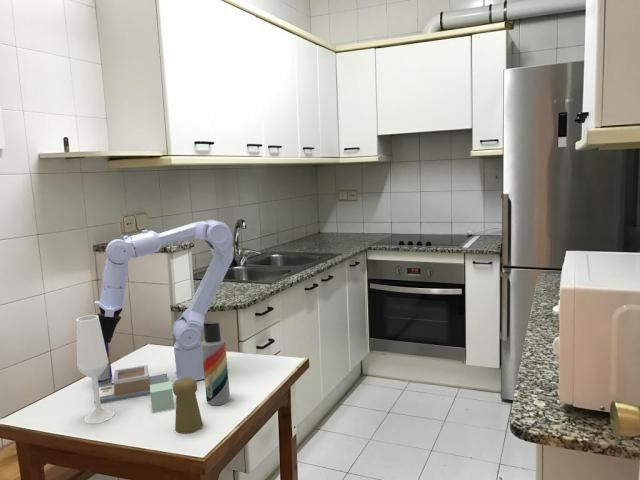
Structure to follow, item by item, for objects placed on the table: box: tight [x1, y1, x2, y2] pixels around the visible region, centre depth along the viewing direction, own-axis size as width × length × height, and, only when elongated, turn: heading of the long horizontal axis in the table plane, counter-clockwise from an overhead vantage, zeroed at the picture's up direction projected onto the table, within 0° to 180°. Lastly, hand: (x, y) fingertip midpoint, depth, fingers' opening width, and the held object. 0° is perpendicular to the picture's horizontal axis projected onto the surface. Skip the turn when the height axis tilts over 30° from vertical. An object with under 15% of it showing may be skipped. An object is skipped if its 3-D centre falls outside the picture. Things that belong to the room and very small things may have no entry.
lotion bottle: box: [201, 321, 231, 406], centre depth 131 cm, size 6×6×20 cm
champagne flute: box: [75, 314, 115, 424], centre depth 126 cm, size 7×7×24 cm
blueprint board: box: [93, 364, 169, 404], centre depth 142 cm, size 18×11×5 cm, turn 108°
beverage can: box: [97, 343, 113, 385], centre depth 147 cm, size 5×5×15 cm
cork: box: [172, 378, 204, 435], centre depth 119 cm, size 6×6×11 cm
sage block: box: [150, 380, 175, 413], centre depth 131 cm, size 5×5×5 cm
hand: (106, 338), depth 139 cm, fingers open, 7 cm apart
